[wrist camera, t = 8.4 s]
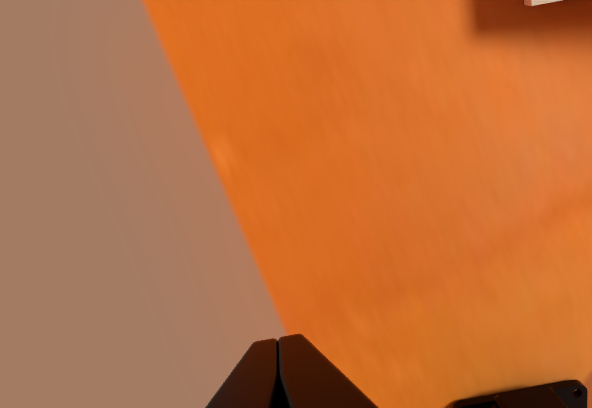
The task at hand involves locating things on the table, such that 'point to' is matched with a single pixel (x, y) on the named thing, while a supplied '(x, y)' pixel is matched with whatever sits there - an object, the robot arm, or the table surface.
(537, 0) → the domino
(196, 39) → the table surface
